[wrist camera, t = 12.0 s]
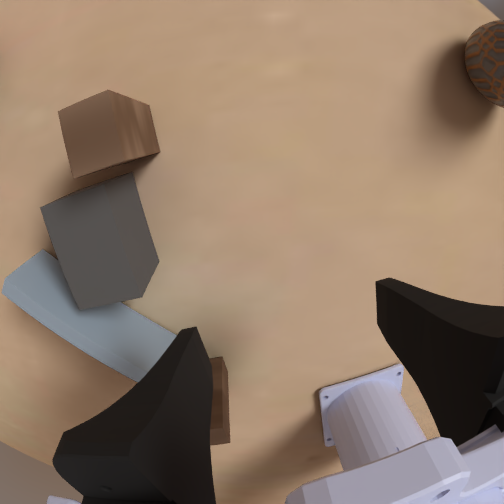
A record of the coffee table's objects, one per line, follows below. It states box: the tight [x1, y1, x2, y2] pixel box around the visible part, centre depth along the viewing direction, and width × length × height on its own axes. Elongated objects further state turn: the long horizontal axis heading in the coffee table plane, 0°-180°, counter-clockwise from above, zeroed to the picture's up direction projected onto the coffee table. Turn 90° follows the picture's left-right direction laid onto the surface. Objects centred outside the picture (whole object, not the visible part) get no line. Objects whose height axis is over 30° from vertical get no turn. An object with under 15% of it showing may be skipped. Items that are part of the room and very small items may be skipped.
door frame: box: [58, 90, 230, 445], centre depth 17 cm, size 20×2×7 cm, turn 12°
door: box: [2, 249, 177, 382], centre depth 19 cm, size 14×2×5 cm, turn 54°
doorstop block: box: [40, 172, 159, 310], centre depth 17 cm, size 6×4×5 cm, turn 12°
